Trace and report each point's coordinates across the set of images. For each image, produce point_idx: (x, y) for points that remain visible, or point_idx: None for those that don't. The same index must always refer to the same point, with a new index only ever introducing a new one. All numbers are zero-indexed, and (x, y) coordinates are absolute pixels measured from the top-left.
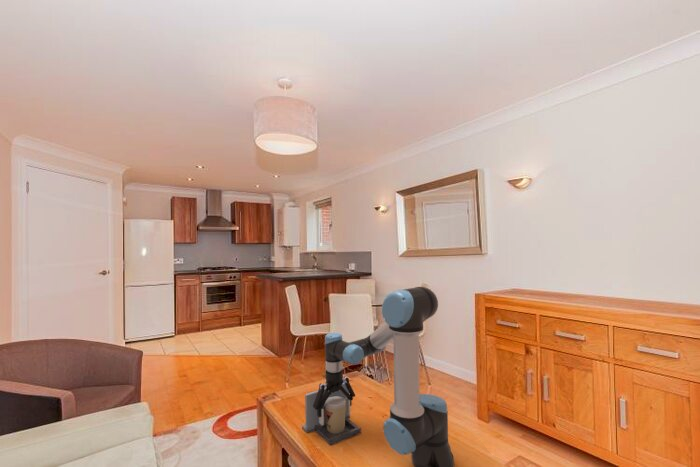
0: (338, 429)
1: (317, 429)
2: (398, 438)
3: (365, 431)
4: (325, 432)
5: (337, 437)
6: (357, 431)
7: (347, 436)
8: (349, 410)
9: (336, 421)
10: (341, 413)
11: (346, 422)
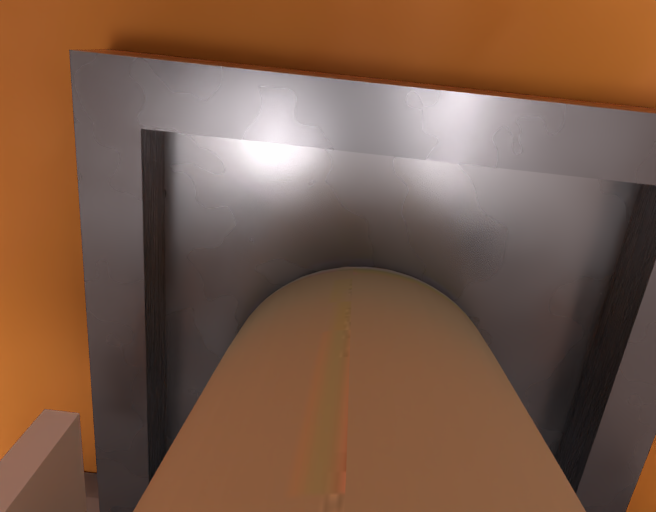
0: (416, 295)
1: (619, 504)
2: None
3: (14, 30)
4: (625, 371)
5: (609, 117)
6: (160, 58)
7: (384, 80)
8: (7, 485)
9: (486, 388)
10: (373, 461)
11: (156, 381)
